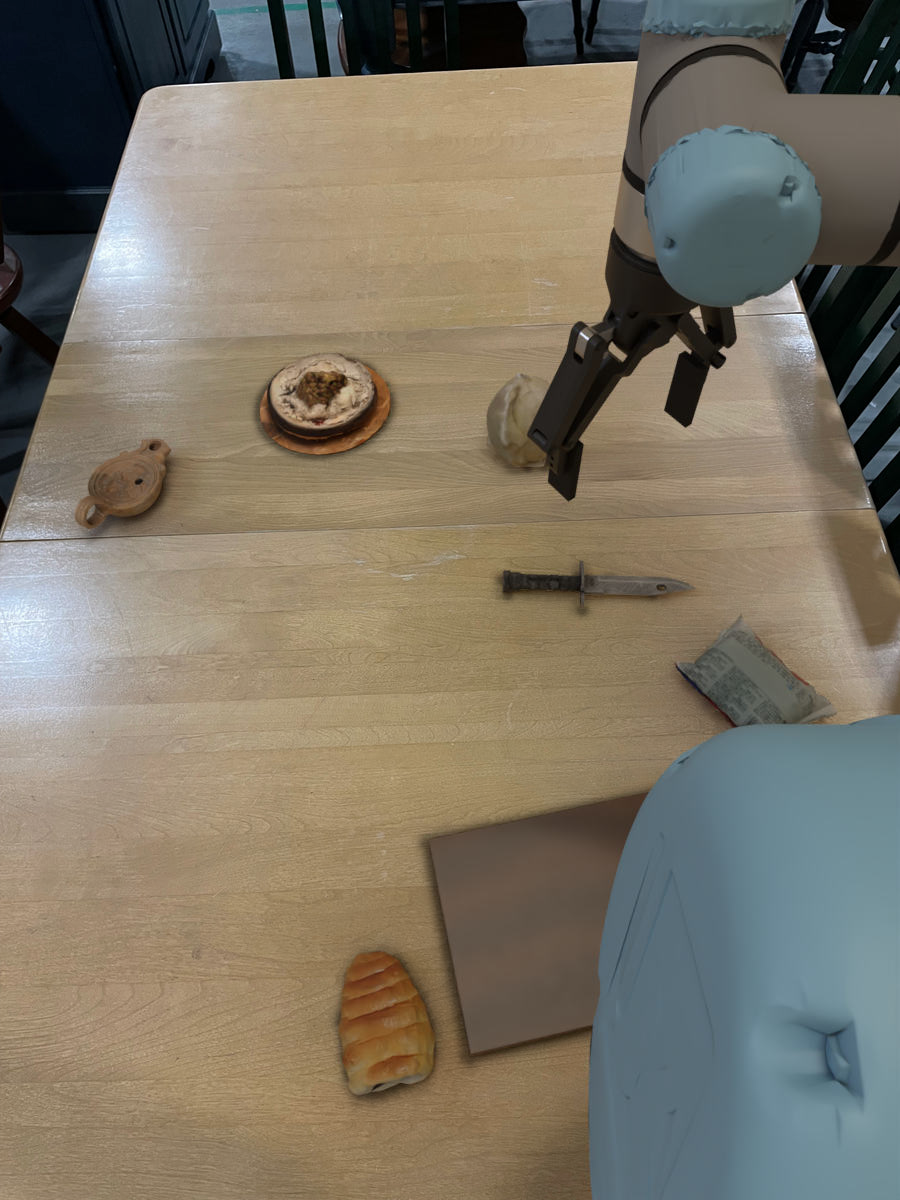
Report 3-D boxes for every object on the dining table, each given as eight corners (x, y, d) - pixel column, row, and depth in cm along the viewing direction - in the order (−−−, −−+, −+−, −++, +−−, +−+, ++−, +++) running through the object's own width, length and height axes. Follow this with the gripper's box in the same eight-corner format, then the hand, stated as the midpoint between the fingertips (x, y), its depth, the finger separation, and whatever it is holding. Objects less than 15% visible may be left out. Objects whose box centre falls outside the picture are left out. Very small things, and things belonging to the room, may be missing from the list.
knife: (695, 560, 83) (700, 603, 80) (690, 571, 84) (695, 614, 82) (503, 554, 84) (502, 597, 81) (503, 566, 85) (502, 608, 83)
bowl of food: (273, 468, 93) (266, 441, 89) (249, 376, 100) (241, 349, 97) (403, 436, 95) (401, 409, 91) (370, 349, 103) (366, 321, 99)
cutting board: (778, 982, 64) (783, 980, 63) (470, 1056, 62) (470, 1054, 61) (703, 784, 73) (706, 779, 72) (428, 843, 71) (428, 839, 70)
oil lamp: (146, 445, 95) (131, 414, 91) (198, 470, 93) (185, 439, 89) (64, 528, 89) (43, 497, 85) (117, 556, 87) (99, 527, 83)
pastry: (327, 967, 66) (320, 959, 62) (412, 942, 67) (409, 933, 63) (353, 1103, 61) (347, 1101, 58) (443, 1074, 62) (442, 1071, 58)
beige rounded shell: (503, 486, 94) (479, 443, 85) (486, 423, 97) (461, 375, 88) (585, 458, 92) (570, 411, 83) (565, 394, 95) (548, 343, 86)
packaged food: (735, 628, 81) (749, 601, 77) (831, 721, 76) (851, 698, 71) (666, 676, 78) (677, 650, 74) (760, 776, 73) (777, 755, 69)
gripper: (757, 141, 61) (692, 366, 79) (483, 279, 53) (480, 494, 71) (840, 189, 58) (753, 413, 76) (561, 343, 50) (537, 552, 68)
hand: (620, 452), depth 74 cm, fingers open, 13 cm apart
